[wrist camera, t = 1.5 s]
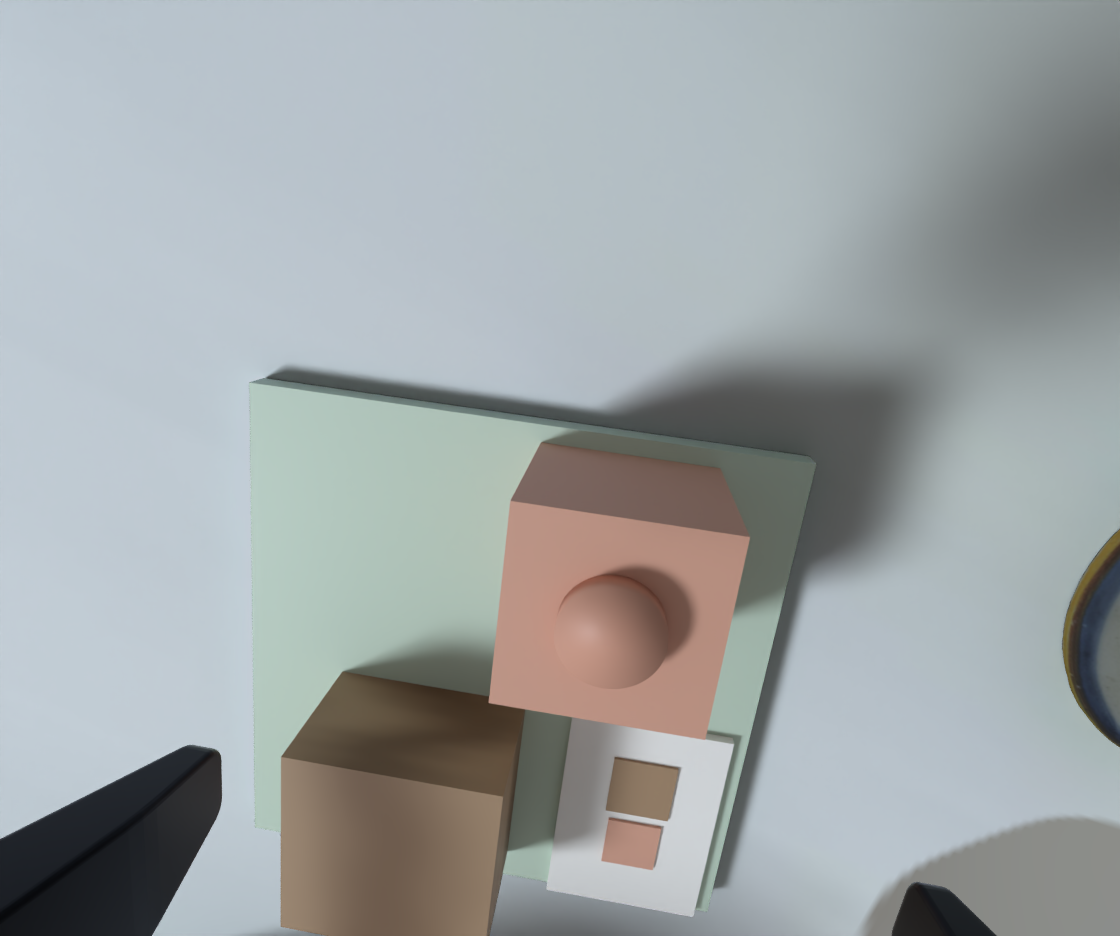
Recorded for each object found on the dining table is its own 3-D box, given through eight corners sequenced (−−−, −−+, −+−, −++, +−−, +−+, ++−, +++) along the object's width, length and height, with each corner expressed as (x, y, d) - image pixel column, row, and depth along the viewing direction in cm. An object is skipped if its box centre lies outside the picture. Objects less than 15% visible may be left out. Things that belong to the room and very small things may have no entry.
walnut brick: (526, 702, 21) (503, 796, 18) (507, 851, 23) (482, 966, 19) (342, 671, 22) (281, 756, 18) (337, 820, 24) (280, 926, 20)
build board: (809, 456, 19) (820, 468, 18) (704, 891, 24) (708, 922, 23) (263, 378, 20) (241, 384, 19) (266, 810, 25) (248, 836, 24)
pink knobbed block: (720, 468, 19) (755, 548, 13) (688, 628, 20) (707, 758, 15) (541, 442, 19) (505, 510, 14) (522, 601, 20) (483, 719, 15)
